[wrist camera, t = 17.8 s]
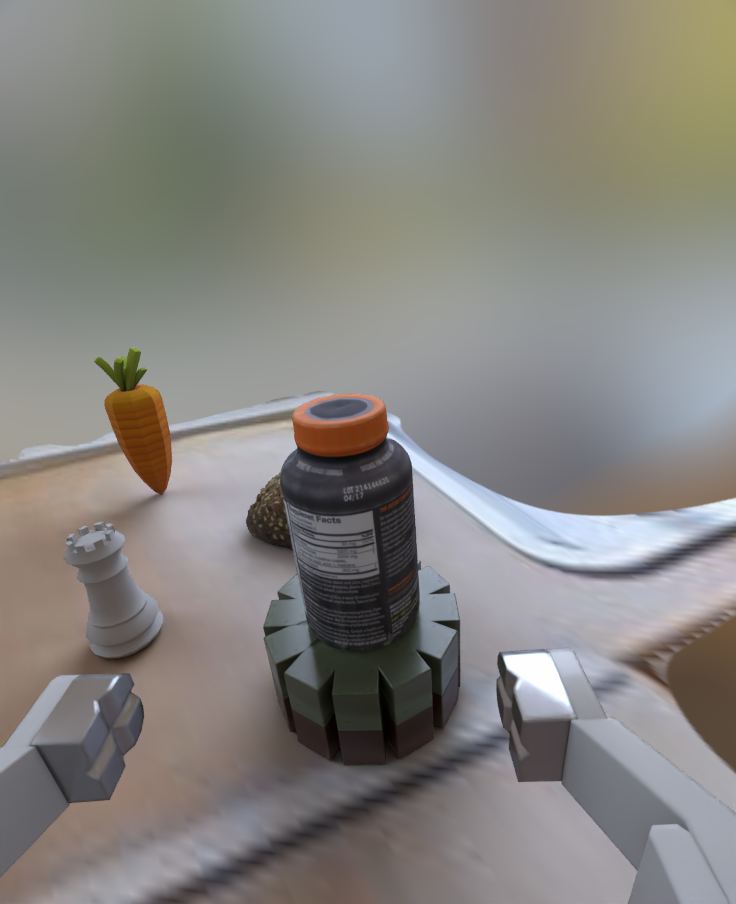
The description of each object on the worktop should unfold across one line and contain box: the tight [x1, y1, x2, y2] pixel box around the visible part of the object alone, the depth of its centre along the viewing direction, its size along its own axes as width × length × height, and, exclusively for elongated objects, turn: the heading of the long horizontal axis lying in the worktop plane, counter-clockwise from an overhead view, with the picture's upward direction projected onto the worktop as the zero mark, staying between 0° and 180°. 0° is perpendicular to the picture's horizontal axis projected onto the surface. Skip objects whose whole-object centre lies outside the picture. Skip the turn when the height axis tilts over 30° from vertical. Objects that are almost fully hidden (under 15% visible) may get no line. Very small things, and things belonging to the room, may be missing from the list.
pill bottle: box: [280, 394, 420, 651], centre depth 22 cm, size 6×6×11 cm
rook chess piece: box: [64, 522, 163, 659], centre depth 29 cm, size 4×4×8 cm
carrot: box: [94, 348, 172, 494], centre depth 46 cm, size 5×5×15 cm
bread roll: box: [246, 473, 292, 548], centre depth 41 cm, size 13×12×5 cm
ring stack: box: [263, 560, 460, 765], centre depth 26 cm, size 10×10×5 cm
